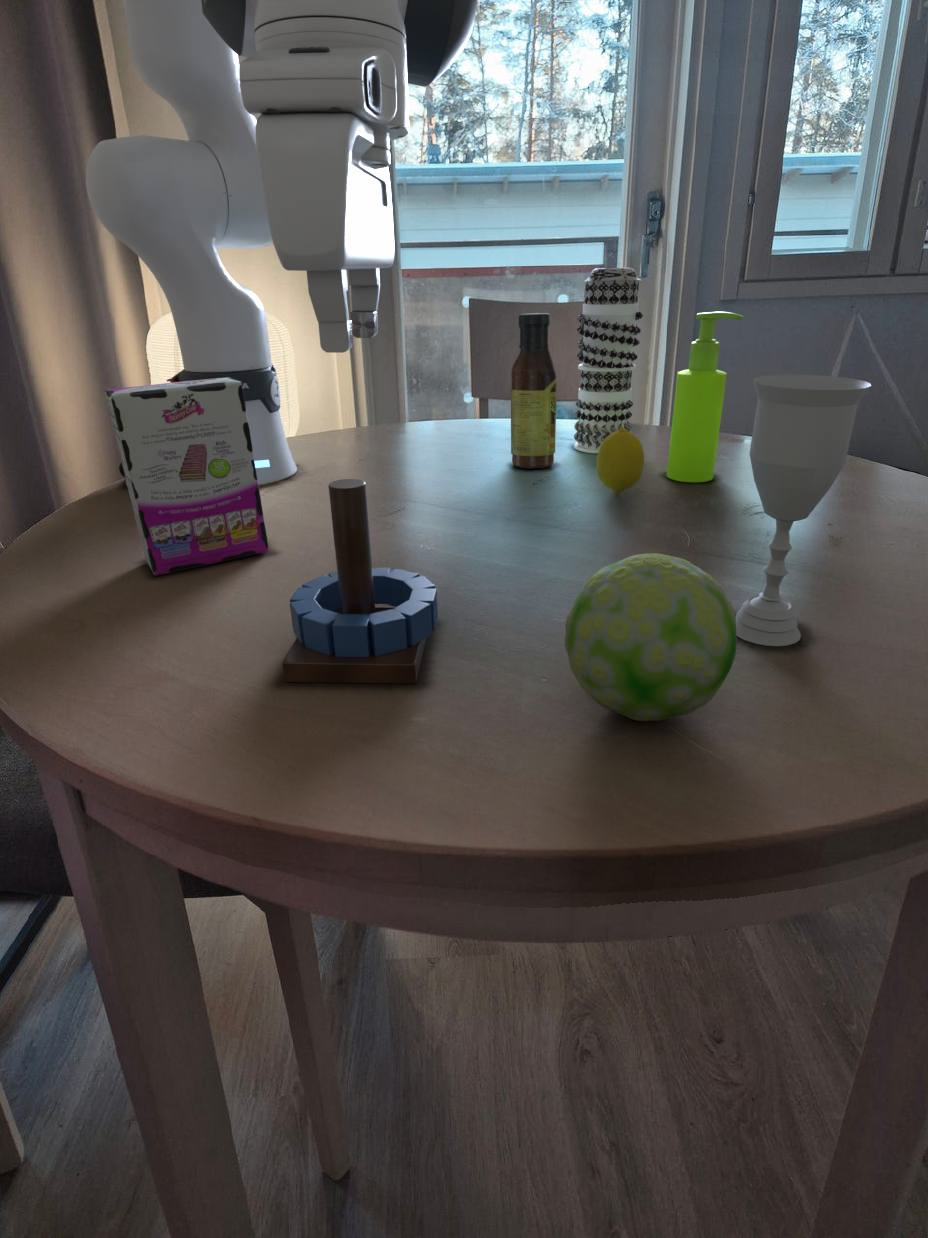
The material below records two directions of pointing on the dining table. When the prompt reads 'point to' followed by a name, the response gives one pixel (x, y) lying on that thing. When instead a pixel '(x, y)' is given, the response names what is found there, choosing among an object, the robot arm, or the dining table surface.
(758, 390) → the chalice
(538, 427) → the sauce bottle
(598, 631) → the decorative ball
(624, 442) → the lemon
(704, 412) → the soap dispenser
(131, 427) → the candy bar box
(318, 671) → the stand
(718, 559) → the dining table surface
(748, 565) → the dining table surface
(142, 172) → the robot arm
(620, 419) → the decorative candle
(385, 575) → the bracelet
